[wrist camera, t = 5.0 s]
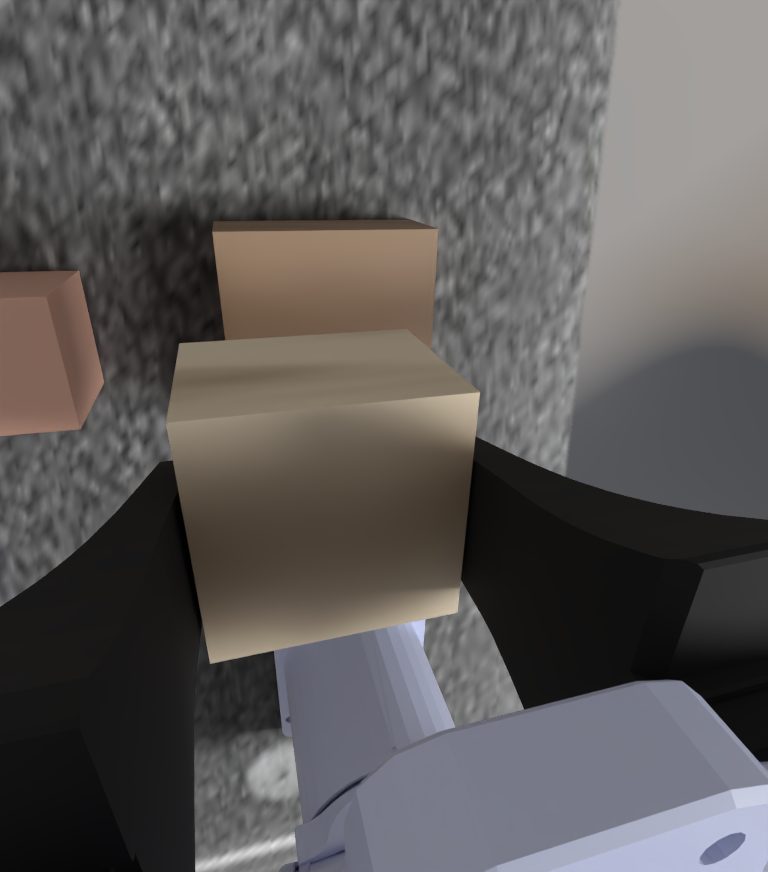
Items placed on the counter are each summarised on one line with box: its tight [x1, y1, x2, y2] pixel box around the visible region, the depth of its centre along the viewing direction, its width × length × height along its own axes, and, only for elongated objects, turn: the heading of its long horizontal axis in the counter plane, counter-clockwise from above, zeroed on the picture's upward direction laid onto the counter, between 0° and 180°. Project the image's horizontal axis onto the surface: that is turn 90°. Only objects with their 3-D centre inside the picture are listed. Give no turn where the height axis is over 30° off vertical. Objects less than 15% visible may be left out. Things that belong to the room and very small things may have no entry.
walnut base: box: [212, 219, 438, 349], centre depth 20 cm, size 7×7×3 cm
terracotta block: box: [0, 271, 104, 436], centre depth 17 cm, size 4×4×4 cm
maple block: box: [166, 329, 480, 664], centre depth 11 cm, size 5×5×4 cm
